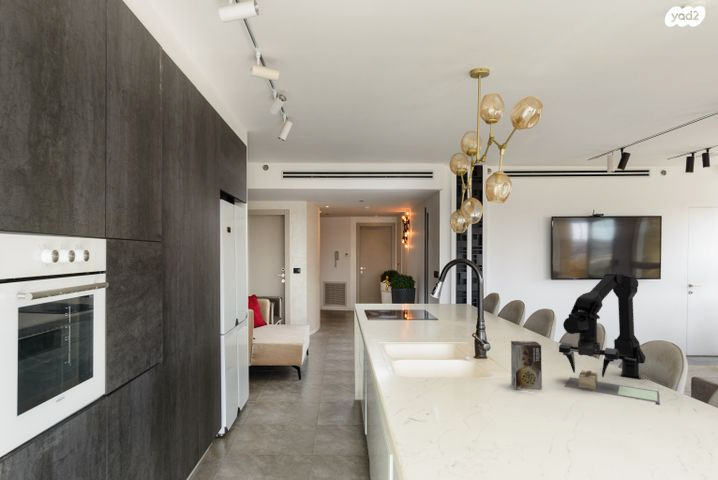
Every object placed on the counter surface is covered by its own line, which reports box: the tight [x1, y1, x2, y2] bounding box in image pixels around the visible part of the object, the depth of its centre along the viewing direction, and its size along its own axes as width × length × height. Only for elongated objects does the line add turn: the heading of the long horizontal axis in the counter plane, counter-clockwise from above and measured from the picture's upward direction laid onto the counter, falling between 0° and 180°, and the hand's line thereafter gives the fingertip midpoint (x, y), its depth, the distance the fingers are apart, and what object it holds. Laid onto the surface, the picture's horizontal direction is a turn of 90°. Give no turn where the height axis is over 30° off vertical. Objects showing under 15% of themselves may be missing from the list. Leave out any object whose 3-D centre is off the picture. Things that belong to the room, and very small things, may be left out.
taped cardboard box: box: [578, 369, 598, 390], centre depth 154 cm, size 9×5×4 cm, turn 145°
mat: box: [563, 376, 660, 406], centre depth 150 cm, size 14×28×1 cm, turn 55°
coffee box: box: [510, 340, 543, 391], centre depth 152 cm, size 9×6×16 cm
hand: (588, 374), depth 154 cm, fingers open, 9 cm apart
